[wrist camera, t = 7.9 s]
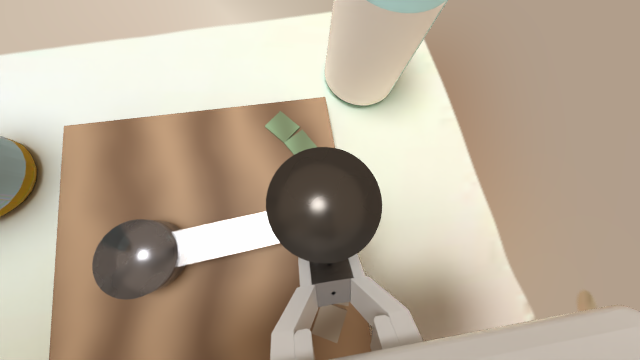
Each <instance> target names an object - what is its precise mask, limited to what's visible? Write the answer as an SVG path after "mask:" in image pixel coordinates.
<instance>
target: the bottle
mask: <svg viewBox="0 0 640 360" xmlns="http://www.w3.org/2000/svg"><path fill="white" fill-rule="evenodd" d="M36 175H37V168H36V165H35V163H34V160H33V158H32V156H31V154H30V152H29V151H28V150H27V149H26V148H25V147H24V146H23V145H21V144H19V143H17V142H15V141H13V140H10V139H7V138H4V137H2V136H0V216H2V215H4V214H6V213H8V212H10V211H11V210H13V209H14V208H16V207H17V206H18V205H20V204H21V203H22V202H23V201H24V200H25V199H26V198H27V196H28V195H29V194H30V193H31V191H32V189H33V187H34V184H35V182H36Z"/></svg>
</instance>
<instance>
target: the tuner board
mask: <svg viewBox="0 0 640 360" xmlns="http://www.w3.org/2000/svg"><path fill="white" fill-rule="evenodd" d="M316 147H331V148H335V146H334V141H333V136H332V130H331V125H330V120H329V115H328V109H327V104H326V99H325V97H321V98H312V99H303V100H294V101H285V102H276V103H267V104H258V105H249V106H240V107H231V108H222V109H213V110H204V111H195V112H186V113H177V114H168V115H159V116H150V117H141V118H132V119H123V120H114V121H105V122H96V123H87V124H78V125H69V126H64V134H63V149H62V165H61V181H60V196H59V212H58V228H57V243H56V259H55V275H54V290H53V306H52V321H51V337H50V353H49V360H270V353H271V334H272V332H273V330H274V328H275V326H276V325H277V323H278V321H279V319H280V317H281V316H282V314H283V312H284V310H285V308H286V307H287V305H288V303H289V301H290V299H291V298H292V296H293V294H294V292H295V290H296V288H297V287H300V279H299V264H298V257H297V256H295V255H294V254H292V253H291V252H289V251H288V250H287V249H286V248H285V247H284V246H283V245H282V244H281V243H277V244H273V245H269V246H265V247H260V248H256V249H252V250H247V251H243V252H239V253H235V254H230V255H226V256H222V257H217V258H213V259H209V260H205V261H200V262H196V263H192V264H187V265H185V267H184V269H183V271H182V272H181V274H180V275H179V276H178V277H177V278H176V279H175V280H174V281H173V282H172V283H171V284H169V285H167V286H166V287H164V288H161V289H159V290H157V291H154V292H152V293H149V294H147V295H144V296H142V297H139V298H135V299H127V300H124V299H117V298H114V297H111V296H109V295H107V294H106V293H105V292H103V291H102V290H101V289H100V288H99V286H98V285H97V283H96V281H95V279H94V276H93V270H92V262H93V256H94V253H95V250H96V248H97V246H98V244H99V243H100V241H101V240H102V238H103V237H104V236H105V235H106V234H107V233H108V232H109V231H110V230H112V229H113V228H114V227H116V226H118V225H120V224H122V223H124V222H127V221H130V220H136V219H144V220H159V221H166V222H170V223H172V224H174V225H176V226H177V227H178V228H179V229H180V230H183V229H188V228H192V227H197V226H202V225H206V224H211V223H215V222H220V221H225V220H229V219H234V218H239V217H243V216H248V215H253V214H257V213H262V212H266V196H267V191H268V187H269V184H270V182H271V179H272V177H273V176H274V174H275V172H276V171H277V170H278V168H279V167H280V166H281V165H282V164H283V163H284V162H285V161H286V160H287V159H289V158H290V157H291V156H293V155H295V154H297V153H298V152H301V151H303V150H306V149H310V148H316ZM310 331H311V335H312V341H313V347H314V353H315V360H329V359H334V358H340V357H345V356H350V355H355V354H361V353H366V352H371V348H370V344H371V335H370V330H369V325H368V322H367V321H366V320H365V319H364V317H363V316H362V315H361V314H360V313H359V312H358V311H357V309H356V308H355V307H354V306H353V305H352V304H351V302H345V303H338V304H332V305H327V306H322V307H318V310H317V313H316V315H315V318H314V321H313V323H312V326H311V328H310Z"/></svg>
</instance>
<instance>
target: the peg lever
mask: <svg viewBox="0 0 640 360" xmlns="http://www.w3.org/2000/svg"><path fill="white" fill-rule="evenodd" d="M381 213H382V199H381V193H380V189H379V186H378V183H377V181H376V179H375V177H374V176H373V174H372V173H371V171H370V170H369V169H368V167H367V166H366V165H365V164H364V163H363V162H362V161H361V160H359V159H358V158H357V157H355V156H354V155H352V154H350V153H348V152H346V151H343V150H340V149H336V148H331V147H316V148H310V149H306V150H303V151H301V152H298V153H297V154H295V155H293V156H291V157H290V158H289V159H287V160H286V161H285V162H284V163H283V164H282V165H281V166H280V167H279V168H278V170H277V171H276V172H275V174H274V176H273V177H272V179H271V182H270V184H269V187H268V191H267V196H266V212H262V213H257V214H253V215H248V216H243V217H239V218H234V219H229V220H225V221H220V222H215V223H211V224H206V225H202V226H197V227H192V228H188V229H183V230H180V229H179V228H178V227H177V226H176V225H174V224H172V223H170V222H166V221H159V220H144V219H136V220H130V221H127V222H124V223H122V224H120V225H118V226H116V227H114V228H113V229H112V230H110V231H109V232H108V233H107V234H106V235H105V236H104V237H103V238H102V240H101V241H100V243H99V244H98V246H97V248H96V250H95V253H94V256H93V262H92V270H93V276H94V279H95V281H96V283H97V285H98V286H99V288H100V289H101V290H102V291H103V292H105V293H106V294H107V295H109V296H111V297H114V298H117V299H124V300H127V299H135V298H139V297H142V296H144V295H147V294H149V293H152V292H154V291H157V290H159V289H161V288H164V287H166V286H167V285H169V284H171V283H172V282H173V281H174V280H175V279H176V278H177V277H178V276H179V275H180V274H181V272H182V271H183V269H184V267H185V265H187V264H192V263H196V262H200V261H205V260H209V259H213V258H217V257H222V256H226V255H230V254H235V253H239V252H243V251H247V250H252V249H256V248H260V247H265V246H269V245H273V244H277V243H281V244H282V245H283V246H284V247H285V248H286V249H287V250H288V251H289V252H291V253H292V254H294V255H295V256H297V257H299V258H301V259H304V260H306V261H310V262H314V263H335V262H340V261H343V260H346V259H348V258H350V257H352V256H354V255H355V254H357V253H358V252H360V251H361V250H362V249H363V248H364V247H365V246H366V245H367V244H368V243H369V242H370V241H371V239H372V238H373V236H374V234H375V232H376V230H377V228H378V226H379V222H380V219H381Z"/></svg>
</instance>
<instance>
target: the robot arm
mask: <svg viewBox="0 0 640 360" xmlns="http://www.w3.org/2000/svg"><path fill="white" fill-rule="evenodd" d="M298 264H299V279H300V287H297V288H296V290H295V292H294V294H293V296H292V298H291V299H290V301H289V303H288V305H287V307H286V308H285V310H284V312H283V314H282V316H281V317H280V319H279V321H278V323H277V325H276V326H275V328H274V330H273V332H272V334H271V353H270V360H315V353H314V347H313V341H312V335H311V331H310V328H311V326H312V323H313V321H314V318H315V315H316V313H317V310H318V307H322V306H327V305H332V304H338V303H345V302H351V304H352V305H353V306H354V307H355V308H356V309H357V311H358V312H359V313H360V314H361V315H362V316H363V317H364V319H365V320H366V321H367V322H368V323H369V324H370V325H371V327H372V328H373V329H372V337H371V344H370V348H371V352H366V353H361V354H355V355H350V356H345V357H340V358H334V359H329V360H640V311H638V310H636V309H633V308H630V307H628V306H624V305H611V306H606V307H601V308H596V309H591V310H585V311H580V312H575V313H570V314H564V315H559V316H555V317H549V318H544V319H538V320H533V321H528V322H523V323H517V324H512V325H507V326H502V327H496V328H491V329H486V330H481V331H476V332H470V333H465V334H460V335H455V336H449V337H444V338H439V339H434V340H429V341H423V339H422V337H421V335H420V333H419V331H418V328H417V326H416V324H415V322H414V320H413V318H412V315H411V313H410V311H409V309H407V308H406V307H405V306H404V305H403V304H401V303H400V302H399V301H398V300H397V299H395V298H394V297H393V296H392V295H391V294H389V293H388V292H387V291H386V290H385V289H383V288H382V287H381V286H380V285H379V284H377V283H376V282H375V281H374V280H373V279H371V278H370V277H369V276H365V274H364V271H363V268H362V265H361V262H360V259H359V256H358V254H355V255H354V256H352V257H350V258H348V259H346V260H343V261H340V262H335V263H314V262H310V261H306V260H304V259H301V258H299V257H298Z"/></svg>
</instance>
